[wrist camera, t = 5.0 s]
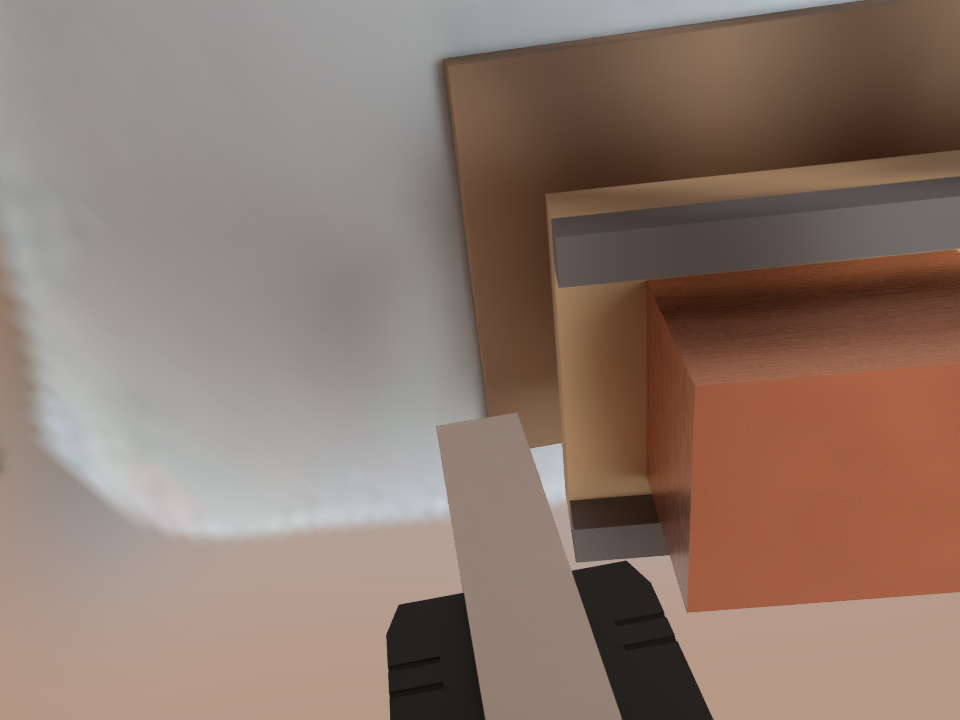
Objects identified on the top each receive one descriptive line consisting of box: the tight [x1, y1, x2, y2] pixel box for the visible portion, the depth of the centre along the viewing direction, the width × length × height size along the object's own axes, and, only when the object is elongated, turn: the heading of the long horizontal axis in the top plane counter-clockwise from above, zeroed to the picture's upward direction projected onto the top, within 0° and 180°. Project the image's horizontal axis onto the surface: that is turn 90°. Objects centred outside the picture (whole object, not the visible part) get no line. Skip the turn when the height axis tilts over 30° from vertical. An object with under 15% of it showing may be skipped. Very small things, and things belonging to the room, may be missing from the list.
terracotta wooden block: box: [647, 250, 960, 612], centre depth 15 cm, size 6×5×4 cm
